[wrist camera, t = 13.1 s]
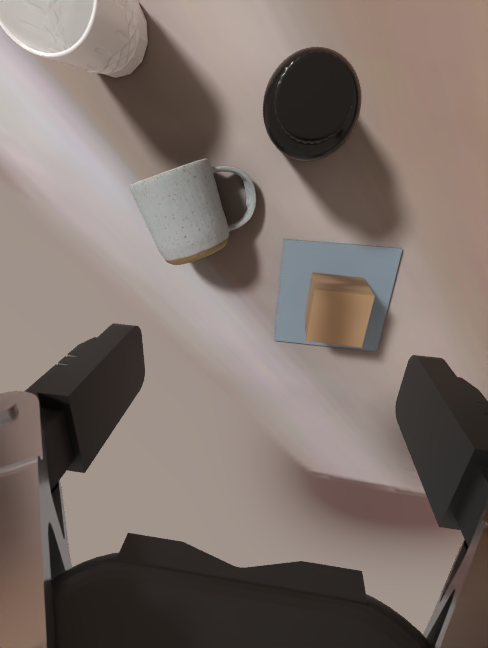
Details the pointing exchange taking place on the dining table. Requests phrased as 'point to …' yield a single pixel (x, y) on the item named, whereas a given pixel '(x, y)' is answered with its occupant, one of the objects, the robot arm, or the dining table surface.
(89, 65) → the white cup
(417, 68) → the dining table surface
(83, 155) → the dining table surface
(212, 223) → the ceramic mug
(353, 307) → the walnut block
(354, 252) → the slate mat
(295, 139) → the supplement bottle
